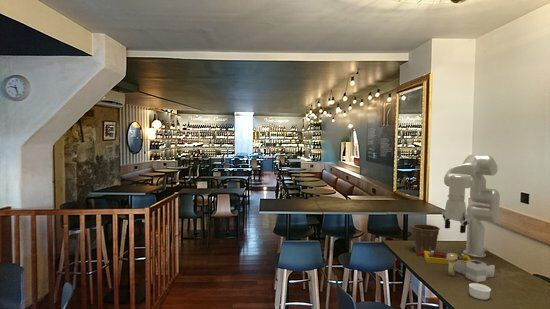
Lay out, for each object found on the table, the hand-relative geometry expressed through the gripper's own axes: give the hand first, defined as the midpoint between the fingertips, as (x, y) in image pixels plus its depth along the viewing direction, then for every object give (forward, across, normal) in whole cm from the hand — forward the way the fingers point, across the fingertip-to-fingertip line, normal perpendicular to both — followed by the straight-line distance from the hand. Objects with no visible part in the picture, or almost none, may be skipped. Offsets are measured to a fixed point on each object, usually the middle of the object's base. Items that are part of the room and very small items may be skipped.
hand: (454, 230), depth 190 cm
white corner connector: (+24, +3, +12) cm, 27 cm away
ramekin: (+24, +23, -9) cm, 35 cm away
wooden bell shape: (+24, -1, 0) cm, 24 cm away
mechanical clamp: (+24, -17, +13) cm, 33 cm away
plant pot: (+24, -36, +16) cm, 46 cm away
